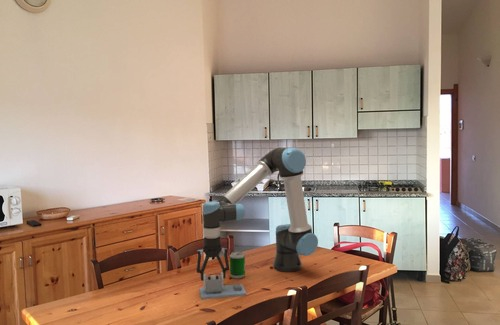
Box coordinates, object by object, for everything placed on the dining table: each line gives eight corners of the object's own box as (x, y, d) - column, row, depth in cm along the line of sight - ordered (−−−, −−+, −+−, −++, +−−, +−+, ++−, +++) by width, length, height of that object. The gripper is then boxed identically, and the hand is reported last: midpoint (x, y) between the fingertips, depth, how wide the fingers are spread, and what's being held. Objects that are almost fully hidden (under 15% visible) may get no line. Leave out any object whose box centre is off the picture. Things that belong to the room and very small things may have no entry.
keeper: (242, 286, 200) (241, 269, 199) (246, 295, 188) (246, 277, 187) (199, 289, 196) (199, 272, 196) (201, 299, 184) (200, 281, 184)
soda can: (243, 279, 209) (242, 255, 208) (228, 278, 211) (228, 255, 210) (246, 274, 216) (246, 251, 216) (232, 274, 218) (231, 250, 217)
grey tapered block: (220, 285, 195) (220, 274, 195) (222, 290, 188) (221, 279, 188) (205, 286, 194) (204, 276, 194) (206, 292, 187) (206, 281, 187)
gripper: (233, 233, 195) (234, 281, 197) (188, 236, 192) (190, 285, 193) (235, 236, 188) (236, 287, 189) (189, 239, 184) (191, 291, 186)
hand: (213, 286), depth 191 cm, fingers open, 7 cm apart
